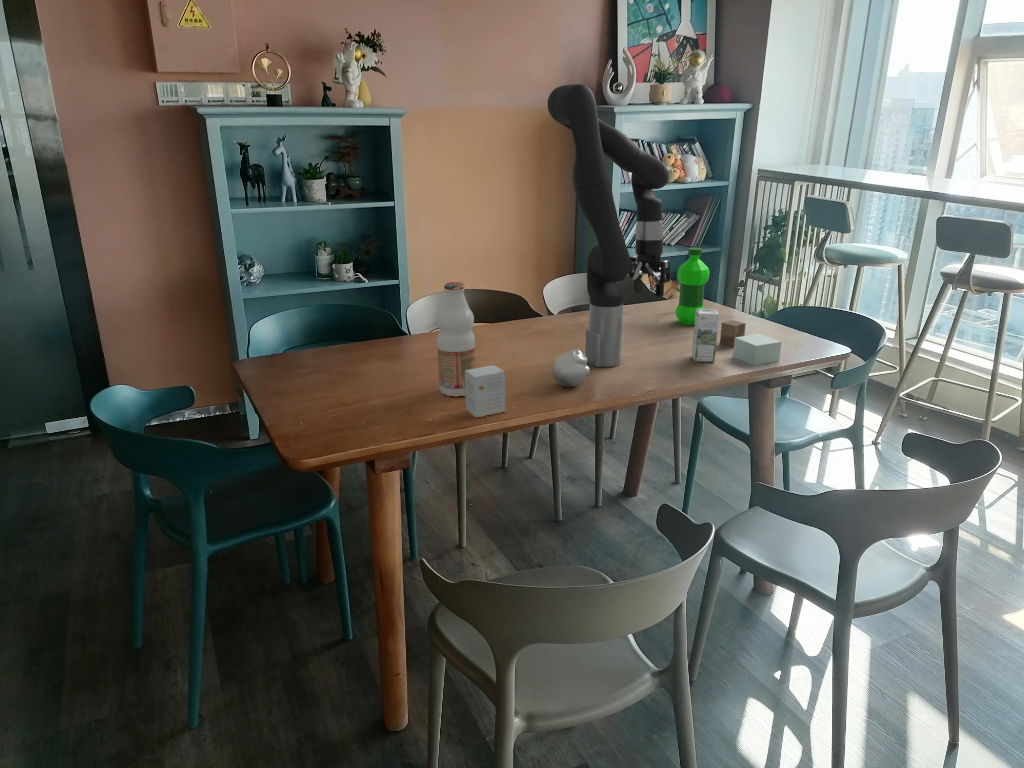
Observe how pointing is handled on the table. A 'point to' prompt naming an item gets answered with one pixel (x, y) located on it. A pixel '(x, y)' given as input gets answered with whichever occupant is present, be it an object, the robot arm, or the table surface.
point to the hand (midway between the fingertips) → (648, 295)
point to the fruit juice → (455, 340)
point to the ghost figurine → (571, 368)
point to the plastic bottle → (691, 286)
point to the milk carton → (705, 335)
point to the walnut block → (731, 332)
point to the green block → (757, 349)
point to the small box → (485, 390)
